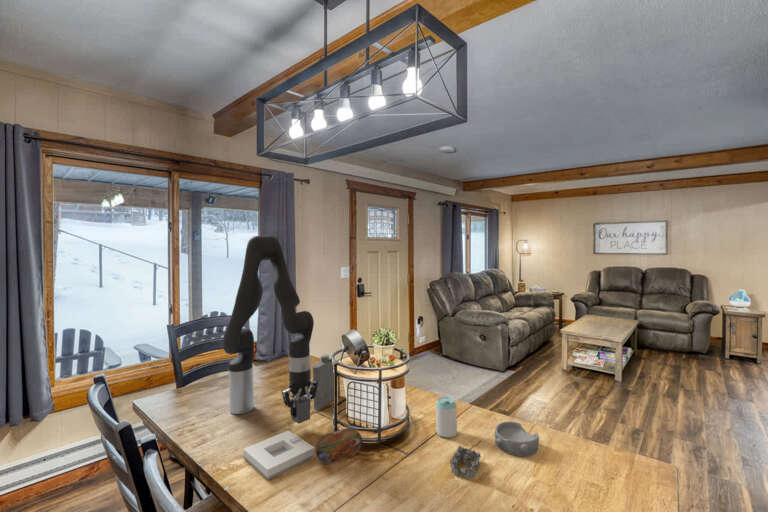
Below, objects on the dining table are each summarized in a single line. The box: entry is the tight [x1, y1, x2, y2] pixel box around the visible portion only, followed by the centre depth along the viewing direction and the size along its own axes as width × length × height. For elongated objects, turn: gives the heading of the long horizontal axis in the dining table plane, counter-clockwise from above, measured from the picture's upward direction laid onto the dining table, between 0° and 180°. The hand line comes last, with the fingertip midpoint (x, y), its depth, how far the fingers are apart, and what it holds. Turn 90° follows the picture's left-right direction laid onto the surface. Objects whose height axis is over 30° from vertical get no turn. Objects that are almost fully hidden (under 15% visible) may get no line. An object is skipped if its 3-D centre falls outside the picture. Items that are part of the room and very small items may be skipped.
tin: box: [314, 427, 363, 465], centre depth 118 cm, size 15×3×8 cm, turn 117°
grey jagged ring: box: [449, 445, 481, 480], centre depth 111 cm, size 11×8×4 cm
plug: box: [290, 395, 311, 424], centre depth 135 cm, size 5×5×9 cm
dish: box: [494, 420, 540, 457], centre depth 122 cm, size 14×14×5 cm
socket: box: [242, 430, 316, 481], centre depth 119 cm, size 16×16×4 cm
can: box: [435, 396, 458, 439], centre depth 131 cm, size 7×7×12 cm
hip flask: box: [312, 354, 341, 411], centre depth 160 cm, size 16×4×20 cm, turn 150°
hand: (300, 413), depth 135 cm, fingers closed on plug, 4 cm apart
